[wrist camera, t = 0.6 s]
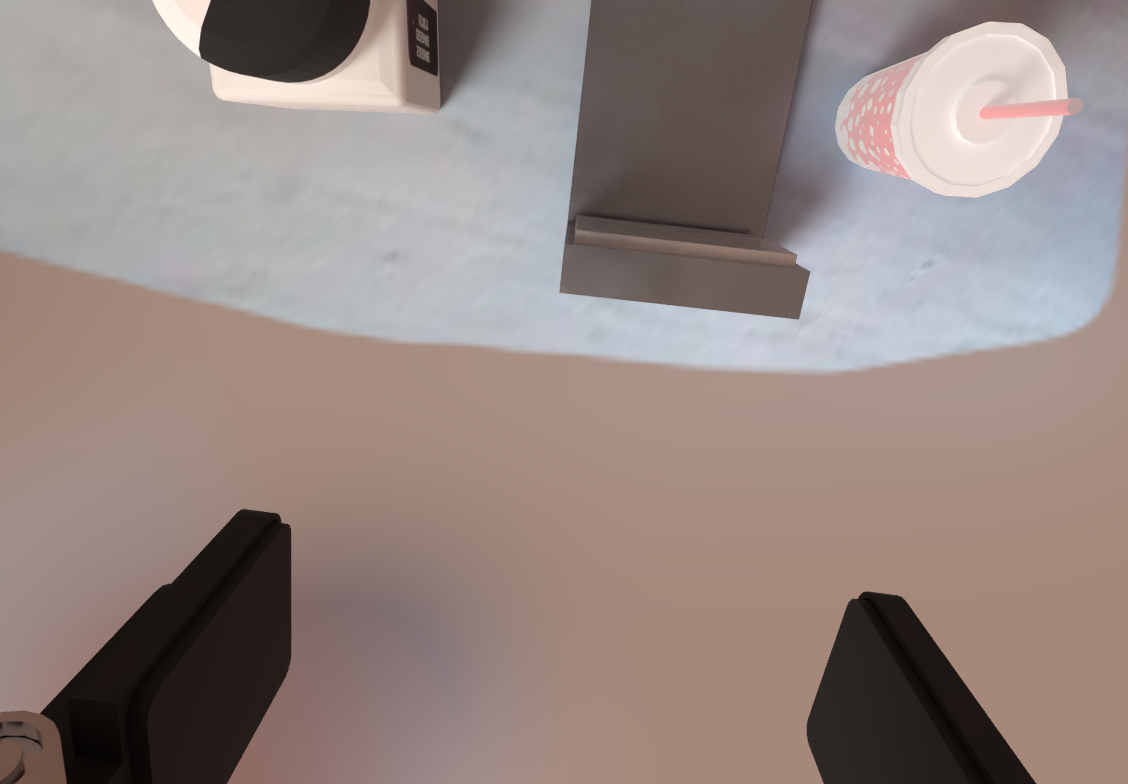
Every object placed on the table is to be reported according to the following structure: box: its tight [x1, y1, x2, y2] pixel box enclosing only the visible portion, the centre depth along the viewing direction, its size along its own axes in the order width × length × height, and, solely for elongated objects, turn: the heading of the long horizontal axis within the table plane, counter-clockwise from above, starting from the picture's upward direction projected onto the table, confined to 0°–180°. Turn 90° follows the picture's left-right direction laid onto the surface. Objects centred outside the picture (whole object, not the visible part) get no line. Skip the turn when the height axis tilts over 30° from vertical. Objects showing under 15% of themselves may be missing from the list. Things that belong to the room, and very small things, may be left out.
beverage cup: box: [835, 22, 1083, 197], centre depth 27 cm, size 6×6×14 cm
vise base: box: [559, 0, 812, 319], centre depth 29 cm, size 18×10×9 cm, turn 174°
